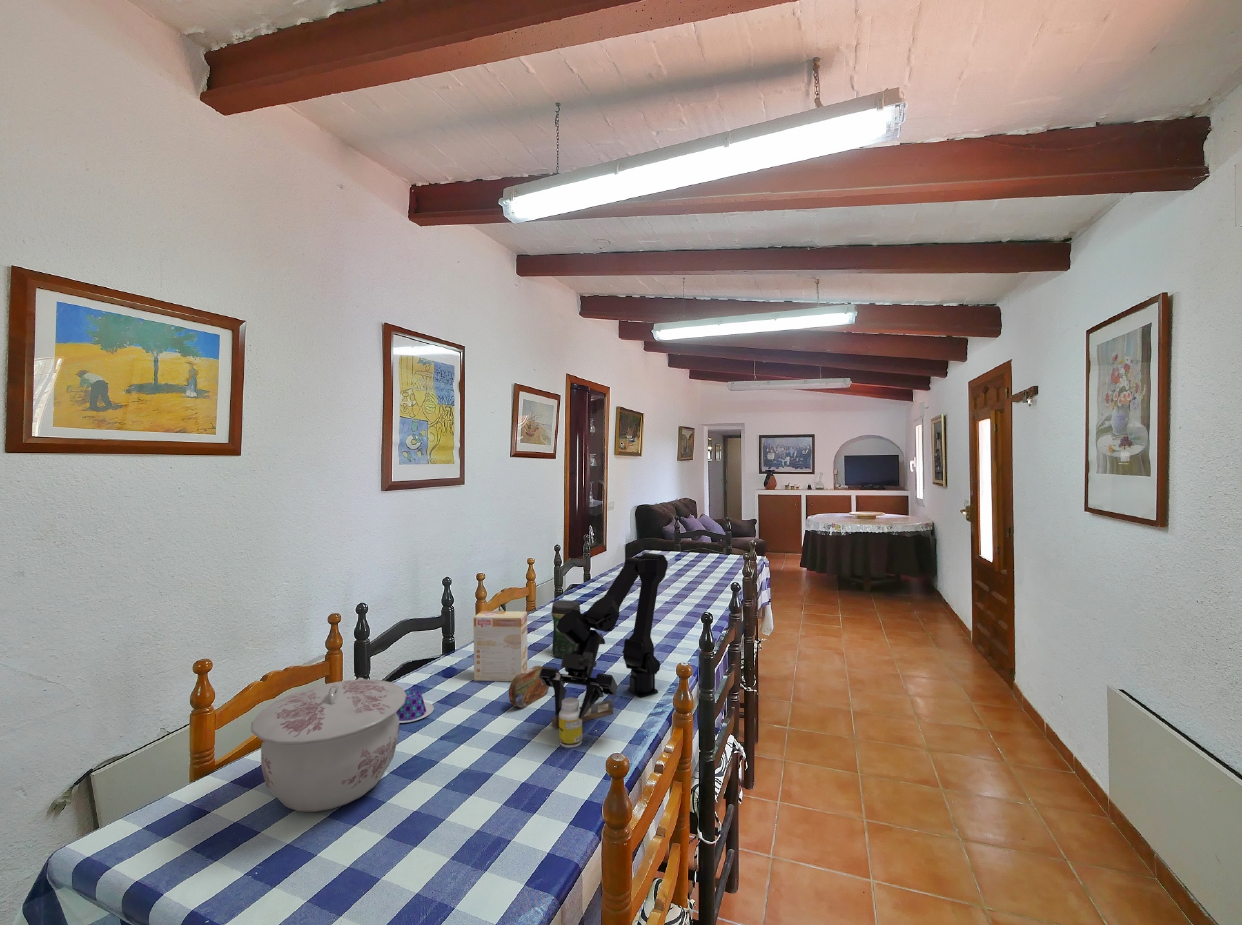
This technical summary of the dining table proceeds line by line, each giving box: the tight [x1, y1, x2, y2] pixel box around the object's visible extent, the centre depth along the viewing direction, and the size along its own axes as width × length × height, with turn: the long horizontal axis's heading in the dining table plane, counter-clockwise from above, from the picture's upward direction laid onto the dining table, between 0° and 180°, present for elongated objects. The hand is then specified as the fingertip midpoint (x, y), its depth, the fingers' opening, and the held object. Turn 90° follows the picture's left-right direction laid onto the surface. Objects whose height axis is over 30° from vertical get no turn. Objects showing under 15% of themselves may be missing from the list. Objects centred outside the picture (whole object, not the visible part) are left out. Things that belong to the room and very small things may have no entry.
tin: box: [508, 665, 550, 709], centre depth 147 cm, size 15×3×8 cm, turn 149°
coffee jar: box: [551, 599, 581, 659], centre depth 182 cm, size 10×8×19 cm
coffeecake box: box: [473, 610, 529, 683], centre depth 163 cm, size 15×7×20 cm, turn 84°
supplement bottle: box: [558, 696, 583, 749], centre depth 124 cm, size 5×5×10 cm
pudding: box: [396, 690, 435, 724], centre depth 140 cm, size 12×12×5 cm
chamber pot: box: [250, 677, 407, 813], centre depth 107 cm, size 28×28×21 cm
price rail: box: [551, 698, 614, 730], centre depth 136 cm, size 16×3×4 cm, turn 120°
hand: (568, 716), depth 123 cm, fingers open, 6 cm apart
